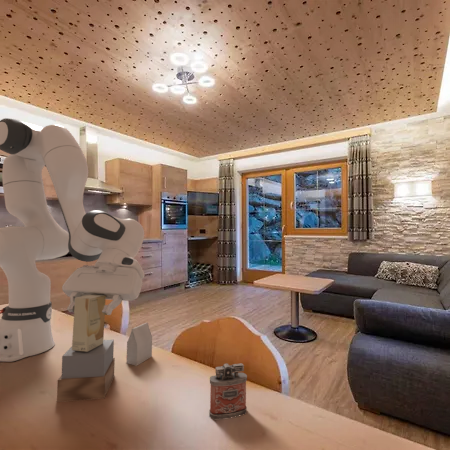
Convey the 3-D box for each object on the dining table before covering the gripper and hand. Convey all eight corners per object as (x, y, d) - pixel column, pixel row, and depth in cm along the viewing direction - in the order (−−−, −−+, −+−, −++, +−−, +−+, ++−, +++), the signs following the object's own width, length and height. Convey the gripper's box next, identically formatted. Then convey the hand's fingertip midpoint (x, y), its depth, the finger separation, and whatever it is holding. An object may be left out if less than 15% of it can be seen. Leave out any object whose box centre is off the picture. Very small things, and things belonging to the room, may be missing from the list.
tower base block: (56, 403, 62) (57, 380, 63) (73, 379, 72) (73, 360, 72) (104, 399, 64) (105, 377, 64) (114, 377, 74) (114, 357, 74)
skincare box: (87, 352, 65) (89, 298, 66) (70, 351, 66) (73, 297, 66) (104, 343, 71) (106, 293, 72) (89, 341, 72) (91, 293, 73)
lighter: (211, 421, 57) (212, 371, 57) (207, 411, 60) (208, 363, 60) (248, 415, 59) (249, 366, 59) (243, 405, 62) (244, 359, 62)
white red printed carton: (151, 356, 86) (152, 323, 86) (136, 365, 80) (137, 330, 80) (142, 354, 88) (142, 321, 88) (126, 363, 81) (127, 328, 82)
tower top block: (61, 378, 63) (62, 356, 63) (76, 360, 72) (76, 341, 72) (103, 376, 65) (104, 354, 65) (113, 358, 73) (113, 339, 74)
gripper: (74, 258, 78) (43, 302, 68) (143, 260, 74) (121, 308, 64) (84, 272, 82) (57, 315, 72) (150, 275, 78) (131, 322, 68)
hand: (88, 312), depth 68 cm, fingers open, 8 cm apart
